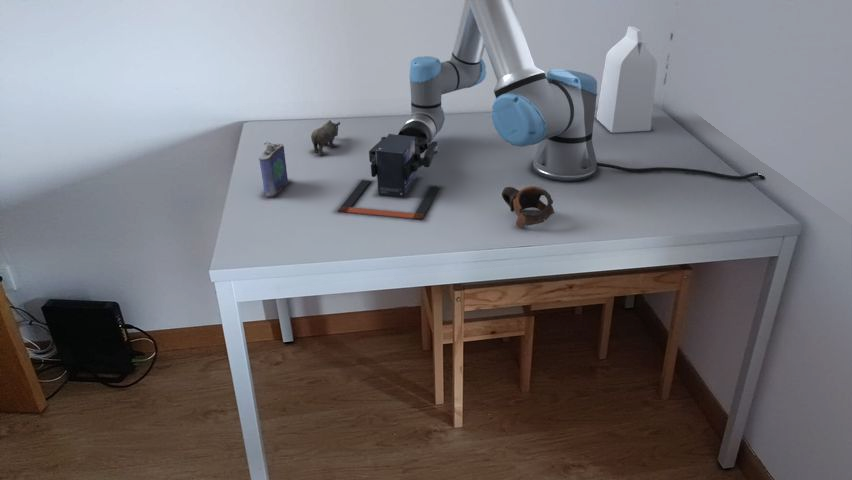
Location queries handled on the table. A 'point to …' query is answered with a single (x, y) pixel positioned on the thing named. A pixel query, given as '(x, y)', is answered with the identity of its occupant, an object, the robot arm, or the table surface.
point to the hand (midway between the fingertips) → (389, 172)
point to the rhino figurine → (324, 136)
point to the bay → (418, 215)
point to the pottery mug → (528, 204)
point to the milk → (628, 85)
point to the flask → (273, 169)
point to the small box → (394, 165)
